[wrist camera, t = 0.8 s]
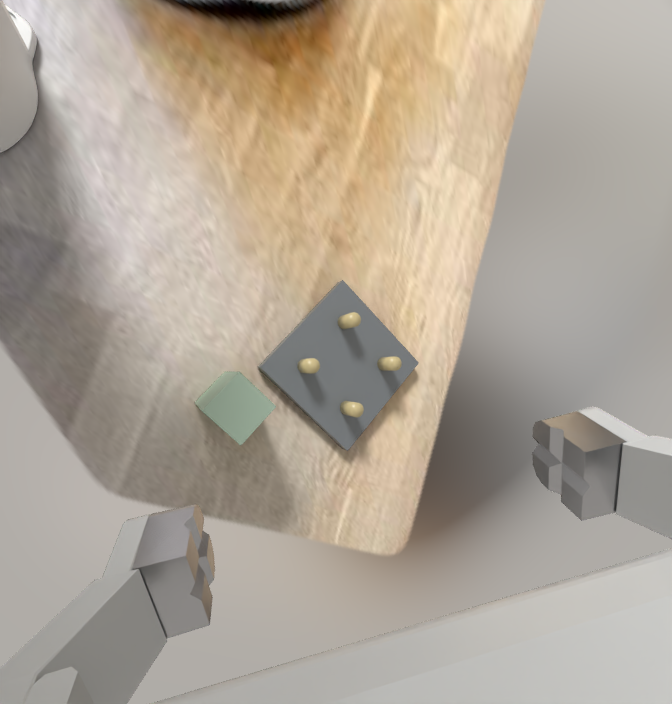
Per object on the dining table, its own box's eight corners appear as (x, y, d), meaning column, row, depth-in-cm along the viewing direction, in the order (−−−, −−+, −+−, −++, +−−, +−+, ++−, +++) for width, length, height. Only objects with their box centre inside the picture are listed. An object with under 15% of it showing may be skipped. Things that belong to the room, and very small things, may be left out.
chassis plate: (257, 367, 48) (266, 367, 44) (338, 282, 52) (353, 274, 48) (342, 448, 52) (358, 455, 47) (412, 363, 55) (432, 362, 51)
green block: (194, 402, 46) (201, 411, 36) (224, 371, 47) (239, 371, 38) (226, 430, 47) (240, 445, 38) (254, 399, 48) (276, 406, 39)
